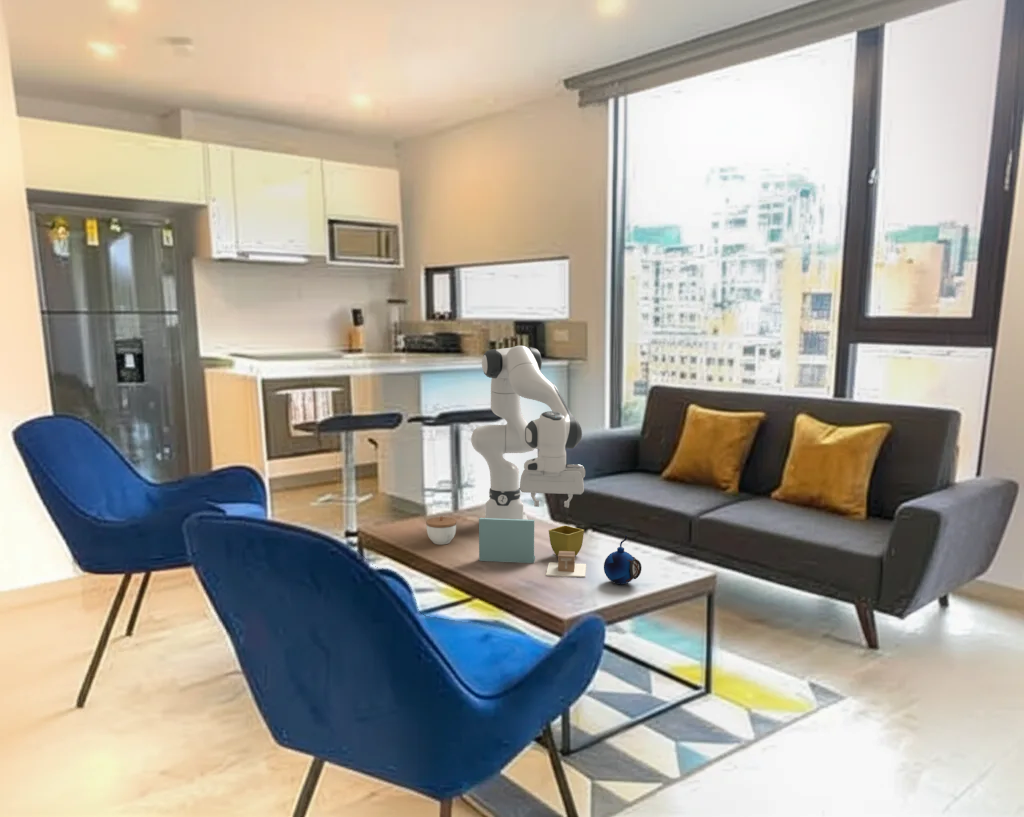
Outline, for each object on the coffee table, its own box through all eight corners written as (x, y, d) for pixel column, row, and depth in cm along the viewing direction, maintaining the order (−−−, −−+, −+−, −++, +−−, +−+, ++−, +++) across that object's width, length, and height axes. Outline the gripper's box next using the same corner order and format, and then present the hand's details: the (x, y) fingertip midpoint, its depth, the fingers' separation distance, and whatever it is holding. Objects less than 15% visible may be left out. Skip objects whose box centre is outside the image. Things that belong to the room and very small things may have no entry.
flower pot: (547, 555, 246) (547, 529, 245) (564, 550, 253) (564, 524, 252) (567, 561, 240) (567, 534, 239) (584, 555, 246) (584, 529, 245)
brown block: (559, 566, 234) (559, 550, 234) (574, 566, 234) (574, 551, 233) (558, 571, 229) (558, 555, 229) (574, 572, 228) (574, 556, 228)
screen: (481, 556, 246) (481, 515, 244) (535, 558, 243) (535, 517, 242) (479, 560, 241) (479, 519, 239) (533, 563, 239) (533, 520, 237)
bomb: (630, 592, 212) (631, 541, 211) (597, 584, 219) (598, 535, 217) (645, 583, 220) (646, 534, 218) (613, 575, 227) (614, 528, 225)
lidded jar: (462, 540, 264) (462, 514, 263) (446, 548, 255) (445, 521, 254) (437, 536, 269) (437, 511, 268) (420, 543, 260) (420, 517, 259)
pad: (549, 563, 238) (549, 562, 238) (586, 565, 237) (586, 563, 237) (546, 575, 226) (546, 574, 226) (585, 577, 225) (585, 576, 225)
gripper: (585, 462, 233) (584, 505, 234) (521, 460, 235) (521, 503, 237) (585, 466, 226) (584, 510, 228) (519, 464, 229) (519, 508, 230)
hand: (551, 506), depth 232 cm, fingers open, 8 cm apart
